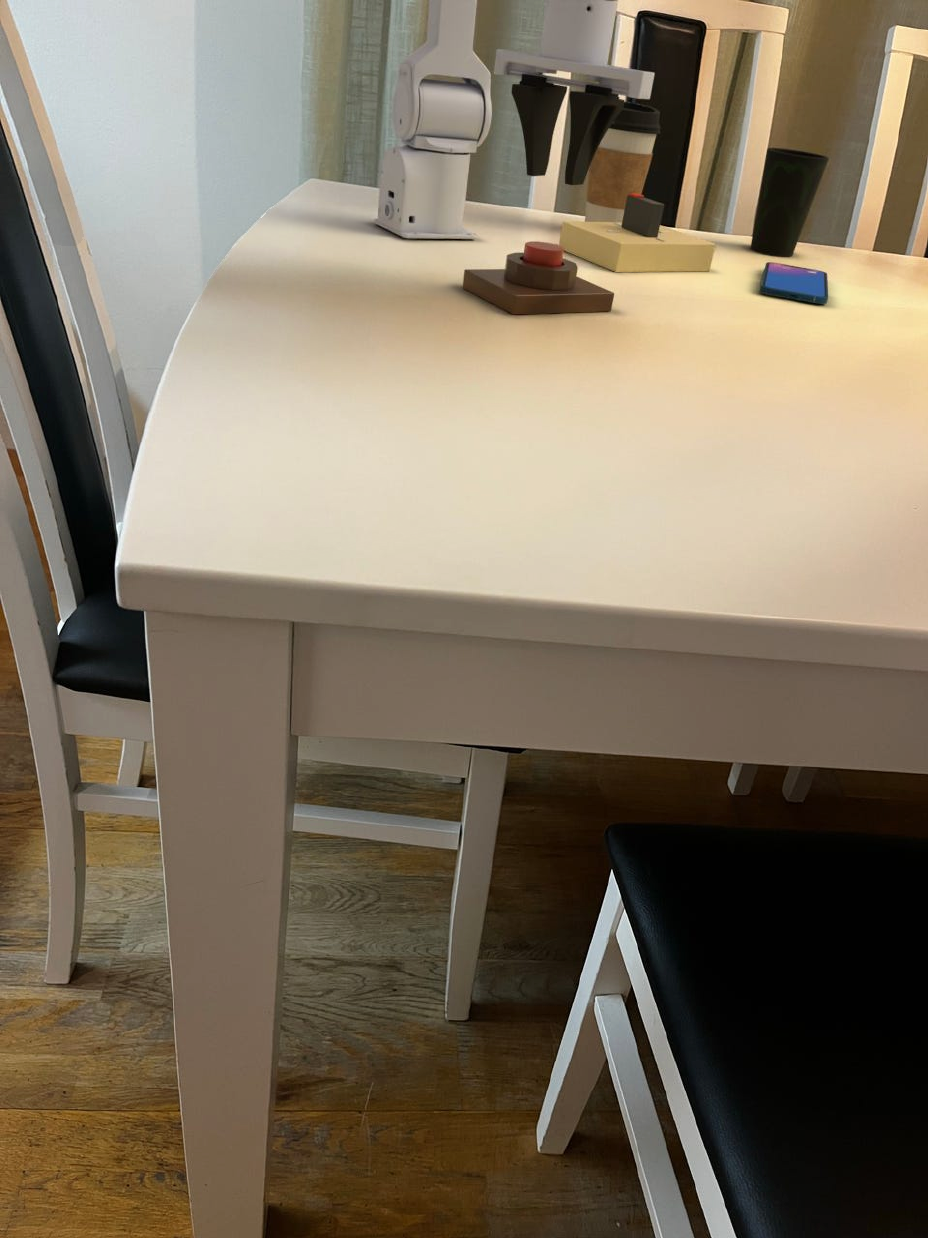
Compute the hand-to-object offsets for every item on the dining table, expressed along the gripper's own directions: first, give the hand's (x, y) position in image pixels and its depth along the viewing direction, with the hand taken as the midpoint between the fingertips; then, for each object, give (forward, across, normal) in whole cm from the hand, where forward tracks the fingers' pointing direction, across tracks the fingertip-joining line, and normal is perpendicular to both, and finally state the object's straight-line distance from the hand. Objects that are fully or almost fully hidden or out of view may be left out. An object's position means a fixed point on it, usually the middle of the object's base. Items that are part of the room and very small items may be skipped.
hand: (554, 179), depth 86 cm
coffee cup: (+11, +15, -38) cm, 42 cm away
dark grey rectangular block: (+7, +5, -28) cm, 29 cm away
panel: (+10, +5, -28) cm, 30 cm away
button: (+7, 0, 0) cm, 7 cm away
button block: (+10, 0, 0) cm, 10 cm away
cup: (+11, -1, -54) cm, 55 cm away
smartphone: (+10, -12, -35) cm, 38 cm away
